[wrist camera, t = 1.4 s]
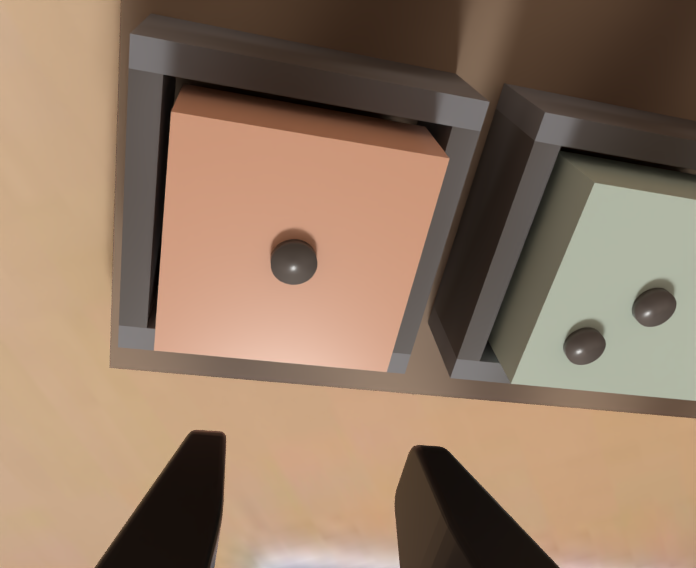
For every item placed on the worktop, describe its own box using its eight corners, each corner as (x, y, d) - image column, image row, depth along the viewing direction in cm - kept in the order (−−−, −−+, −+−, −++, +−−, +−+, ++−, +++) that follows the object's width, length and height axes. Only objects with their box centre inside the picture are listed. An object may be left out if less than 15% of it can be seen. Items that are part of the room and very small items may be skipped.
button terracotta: (425, 126, 13) (452, 161, 12) (372, 322, 16) (388, 377, 14) (183, 83, 12) (169, 114, 11) (166, 299, 15) (152, 356, 13)
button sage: (744, 183, 15) (814, 222, 13) (653, 352, 17) (701, 406, 16) (554, 149, 14) (599, 186, 12) (484, 334, 16) (513, 389, 15)
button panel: (996, 73, 19) (1190, 116, 15) (779, 392, 24) (877, 483, 20) (142, -134, 14) (96, -151, 10) (122, 327, 19) (88, 431, 15)
